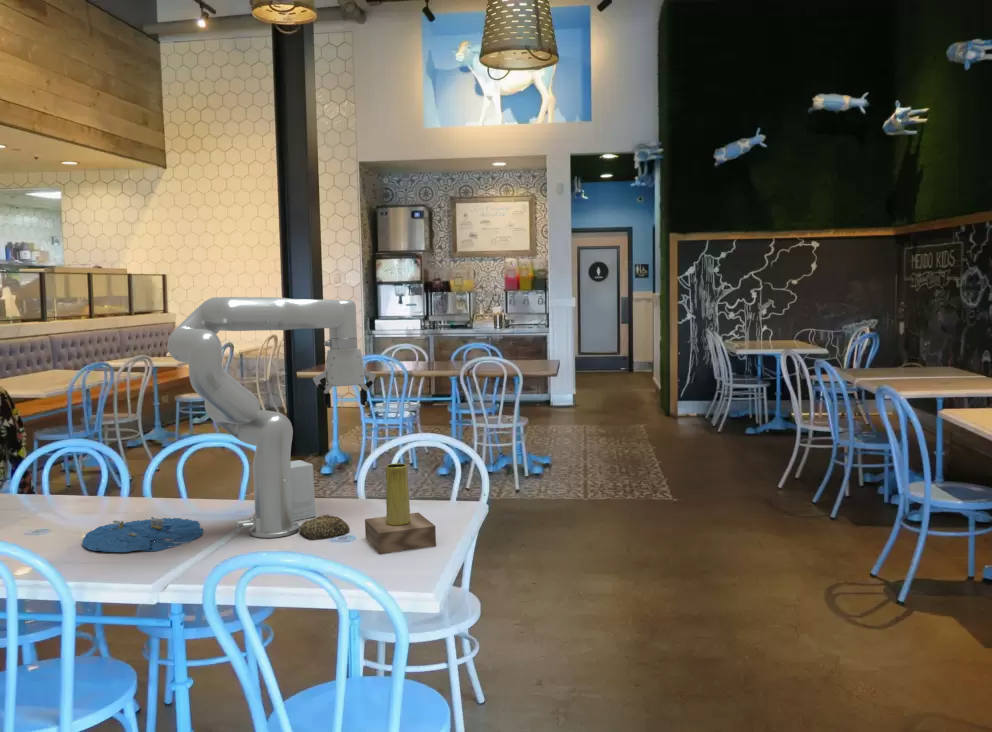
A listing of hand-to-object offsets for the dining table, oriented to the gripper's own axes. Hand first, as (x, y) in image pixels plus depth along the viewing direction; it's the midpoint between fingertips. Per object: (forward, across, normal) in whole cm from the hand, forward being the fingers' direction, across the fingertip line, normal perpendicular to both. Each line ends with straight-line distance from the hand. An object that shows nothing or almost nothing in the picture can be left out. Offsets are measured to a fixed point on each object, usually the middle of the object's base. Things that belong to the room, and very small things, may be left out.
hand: (345, 406), depth 238 cm
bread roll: (+31, -10, -16) cm, 36 cm away
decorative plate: (+31, -53, +1) cm, 61 cm away
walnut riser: (+30, +5, -34) cm, 46 cm away
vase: (+26, +5, -34) cm, 43 cm away
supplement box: (+31, -15, +3) cm, 34 cm away
